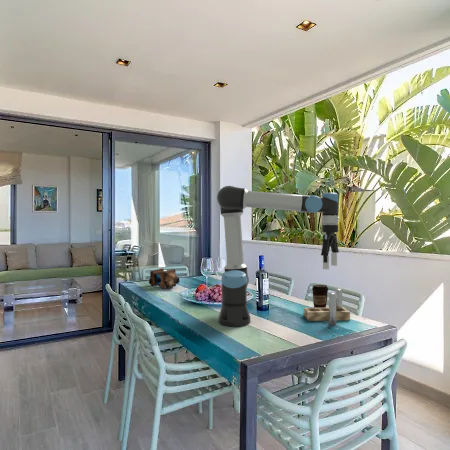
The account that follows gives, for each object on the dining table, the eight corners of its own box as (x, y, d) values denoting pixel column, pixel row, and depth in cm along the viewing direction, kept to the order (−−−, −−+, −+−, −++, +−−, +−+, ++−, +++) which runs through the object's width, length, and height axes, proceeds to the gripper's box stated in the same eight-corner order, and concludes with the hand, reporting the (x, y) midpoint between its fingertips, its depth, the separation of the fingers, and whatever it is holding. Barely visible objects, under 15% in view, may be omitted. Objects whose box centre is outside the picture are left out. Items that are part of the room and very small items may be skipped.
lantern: (155, 293, 251) (178, 297, 234) (142, 278, 243) (165, 281, 226) (168, 276, 260) (190, 278, 244) (155, 261, 252) (178, 263, 236)
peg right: (336, 318, 167) (336, 289, 166) (334, 316, 170) (334, 288, 169) (343, 318, 167) (343, 289, 166) (340, 316, 170) (340, 288, 169)
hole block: (308, 320, 164) (308, 312, 164) (304, 315, 172) (304, 307, 172) (350, 320, 164) (350, 311, 164) (344, 315, 172) (344, 307, 172)
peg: (330, 324, 158) (330, 294, 157) (327, 322, 161) (327, 292, 160) (337, 324, 158) (337, 294, 157) (334, 322, 161) (334, 292, 160)
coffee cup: (329, 312, 177) (329, 287, 177) (312, 311, 179) (312, 286, 178) (327, 308, 186) (327, 283, 185) (311, 307, 187) (311, 283, 187)
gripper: (330, 225, 157) (330, 271, 158) (344, 223, 178) (344, 264, 179) (314, 225, 161) (314, 270, 162) (329, 223, 182) (329, 263, 183)
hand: (330, 267), depth 171 cm, fingers open, 13 cm apart
